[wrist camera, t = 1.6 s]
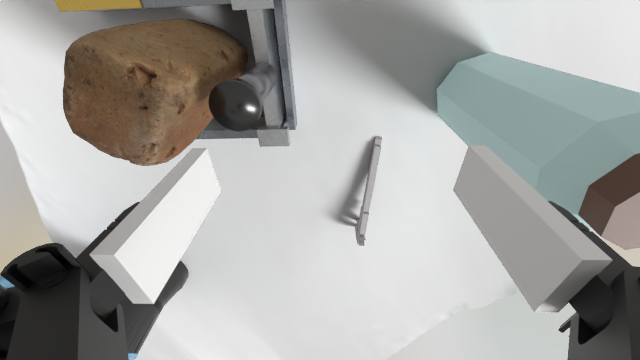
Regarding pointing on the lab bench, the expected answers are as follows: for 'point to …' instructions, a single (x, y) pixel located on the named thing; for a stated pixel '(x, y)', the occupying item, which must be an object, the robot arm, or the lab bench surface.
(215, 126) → the bay
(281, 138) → the bar
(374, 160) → the caliper
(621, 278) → the robot arm
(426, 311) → the lab bench surface
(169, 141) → the brown stone
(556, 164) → the water bottle
